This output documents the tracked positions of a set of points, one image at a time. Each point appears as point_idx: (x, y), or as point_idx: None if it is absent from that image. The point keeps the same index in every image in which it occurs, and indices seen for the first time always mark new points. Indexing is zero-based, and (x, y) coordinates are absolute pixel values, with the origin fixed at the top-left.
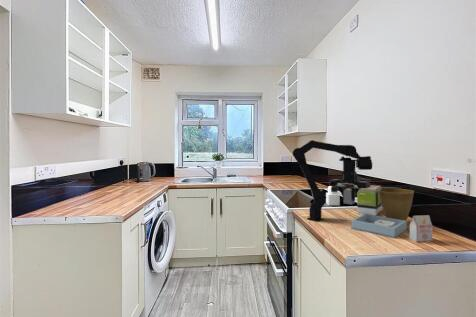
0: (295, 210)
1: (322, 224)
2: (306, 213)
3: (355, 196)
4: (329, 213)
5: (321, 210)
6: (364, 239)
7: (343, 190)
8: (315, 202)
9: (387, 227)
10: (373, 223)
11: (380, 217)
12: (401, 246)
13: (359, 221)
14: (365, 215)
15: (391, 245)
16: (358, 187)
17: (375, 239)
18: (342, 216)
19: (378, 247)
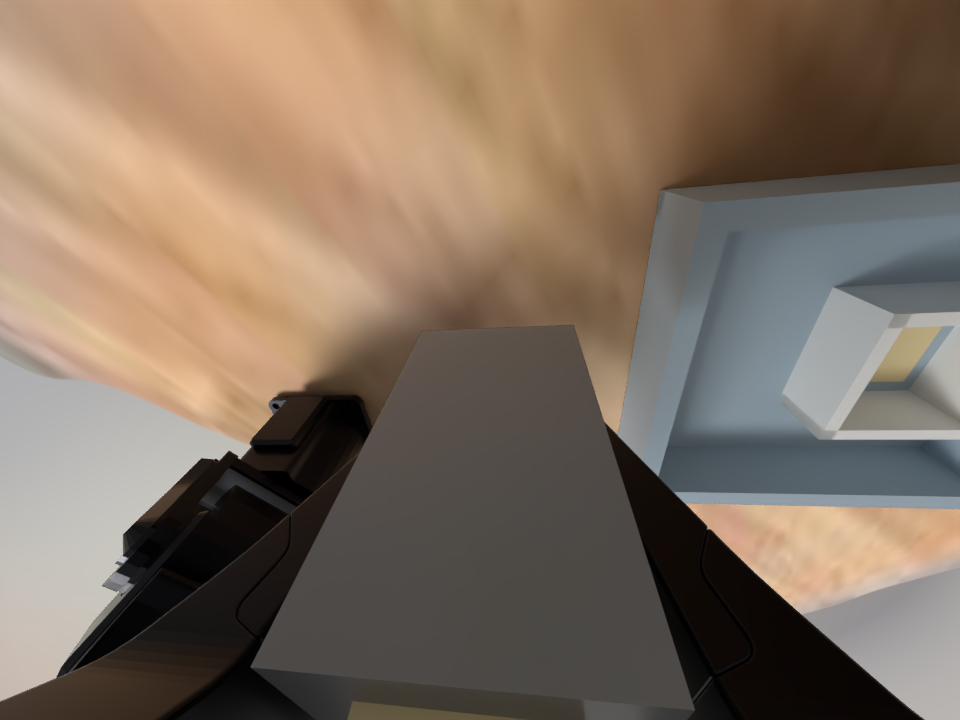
0: (14, 330)
1: None
2: (144, 345)
3: (656, 492)
4: (192, 169)
5: (298, 437)
6: (731, 539)
7: None
8: None
9: (934, 505)
10: (764, 245)
11: (926, 214)
12: (931, 528)
13: (700, 501)
14: (710, 287)
15: (873, 539)
16: None
17: (788, 516)
18: (364, 177)
19: (804, 575)
